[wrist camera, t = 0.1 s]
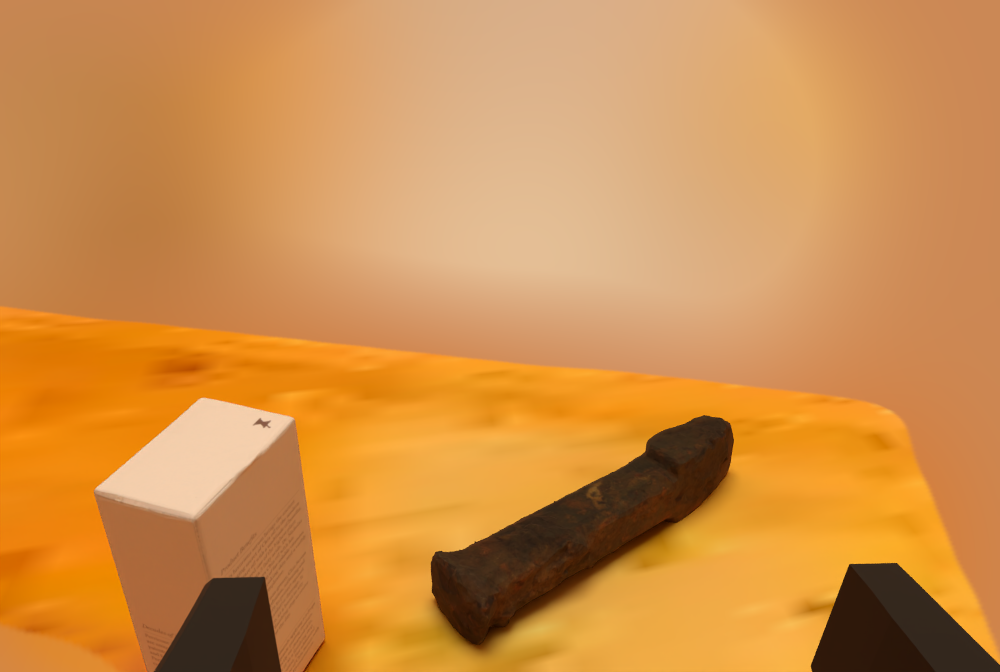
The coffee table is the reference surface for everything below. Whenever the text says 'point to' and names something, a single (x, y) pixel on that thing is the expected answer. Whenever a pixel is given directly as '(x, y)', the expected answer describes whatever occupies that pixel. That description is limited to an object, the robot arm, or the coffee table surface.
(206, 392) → the coffee table surface
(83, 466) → the coffee table surface
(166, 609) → the skincare box
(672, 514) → the hand tool
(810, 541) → the coffee table surface
